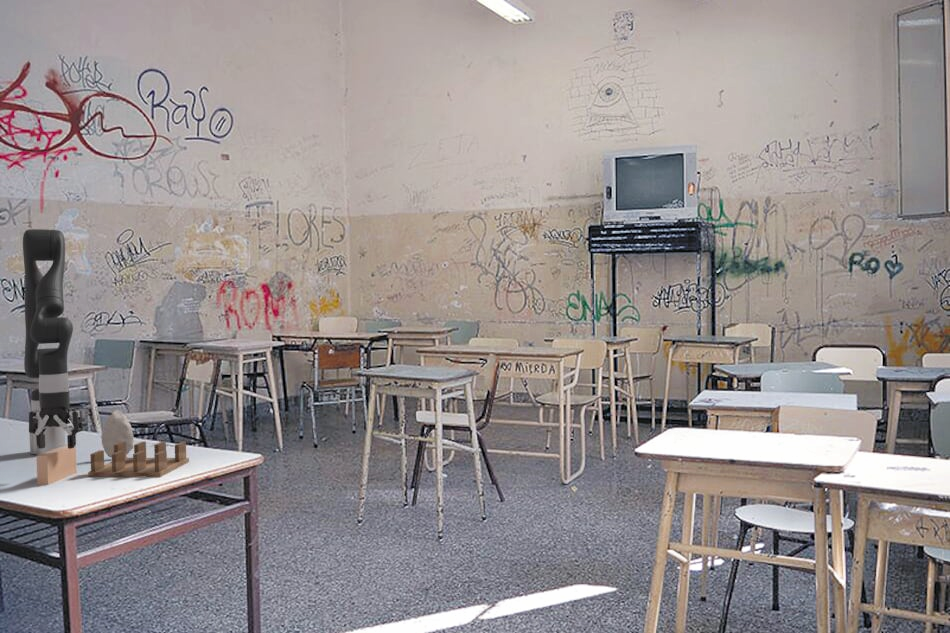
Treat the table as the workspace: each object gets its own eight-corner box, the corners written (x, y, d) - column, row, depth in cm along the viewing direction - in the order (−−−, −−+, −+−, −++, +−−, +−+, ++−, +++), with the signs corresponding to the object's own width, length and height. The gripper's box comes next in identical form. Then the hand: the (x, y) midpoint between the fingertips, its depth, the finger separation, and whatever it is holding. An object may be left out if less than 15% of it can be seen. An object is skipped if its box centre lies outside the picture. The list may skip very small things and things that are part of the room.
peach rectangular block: (37, 485, 233) (36, 455, 232) (66, 473, 247) (65, 445, 246) (48, 485, 233) (47, 455, 232) (76, 473, 247) (75, 445, 246)
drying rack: (88, 476, 242) (87, 454, 241) (121, 461, 260) (121, 441, 260) (160, 476, 240) (159, 454, 239) (189, 461, 259) (188, 441, 258)
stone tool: (103, 461, 261) (101, 412, 261) (101, 459, 264) (99, 410, 263) (135, 457, 266) (133, 409, 266) (132, 455, 269) (131, 407, 268)
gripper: (21, 391, 235) (23, 451, 236) (71, 391, 234) (73, 450, 235) (37, 388, 243) (40, 445, 243) (86, 388, 242) (88, 445, 242)
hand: (56, 448), depth 239 cm, fingers open, 8 cm apart
